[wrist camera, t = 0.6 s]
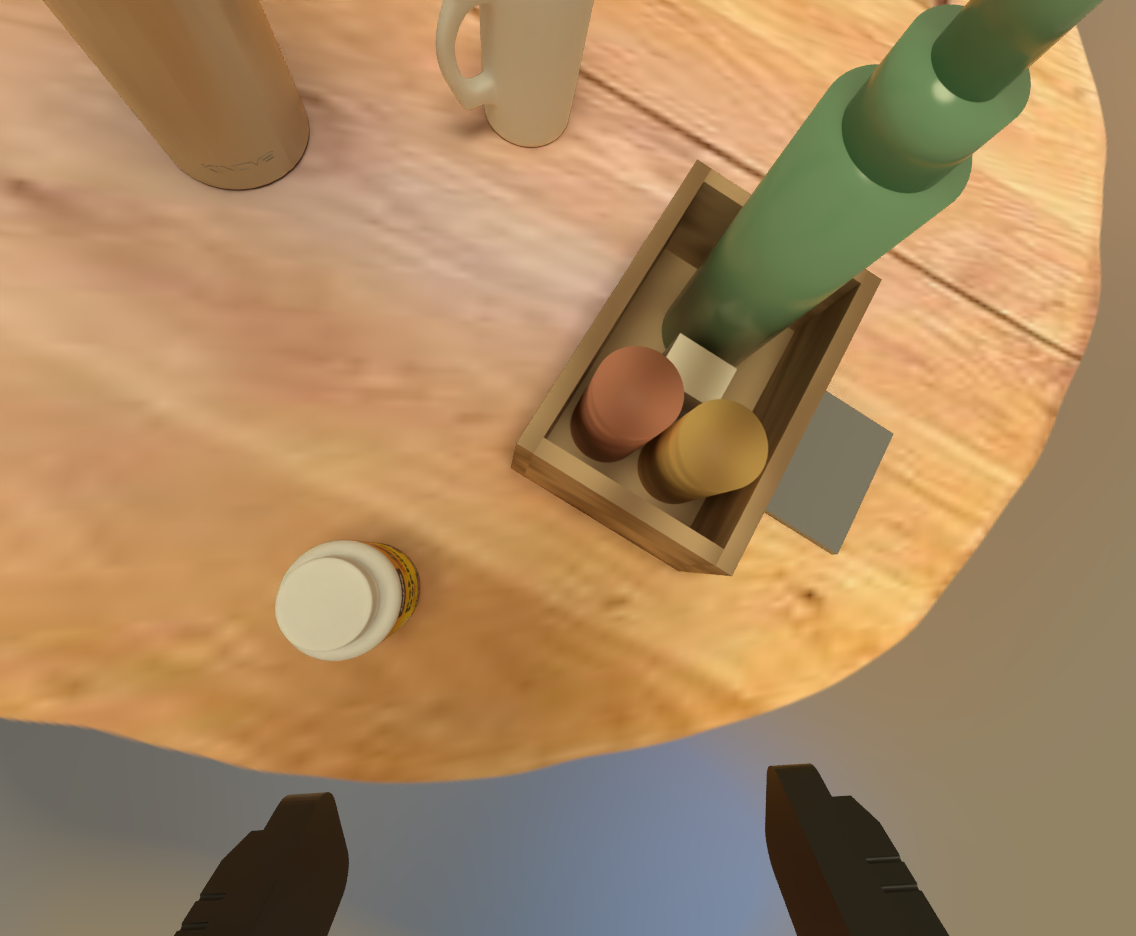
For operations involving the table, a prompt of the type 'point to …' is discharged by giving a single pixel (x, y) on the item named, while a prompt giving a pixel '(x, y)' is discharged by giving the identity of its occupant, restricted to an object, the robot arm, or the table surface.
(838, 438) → the coaster
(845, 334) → the crate
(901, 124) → the green bottle
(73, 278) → the table surface
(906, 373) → the table surface
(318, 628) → the supplement bottle
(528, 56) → the mug
